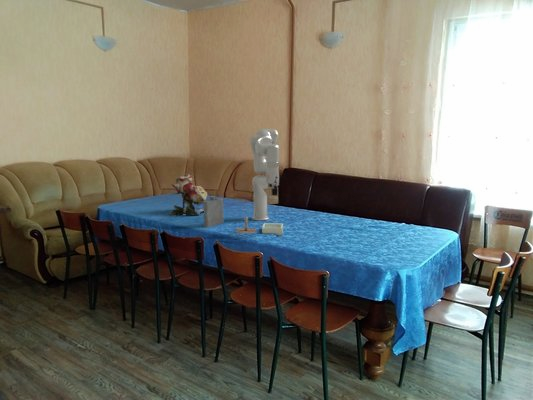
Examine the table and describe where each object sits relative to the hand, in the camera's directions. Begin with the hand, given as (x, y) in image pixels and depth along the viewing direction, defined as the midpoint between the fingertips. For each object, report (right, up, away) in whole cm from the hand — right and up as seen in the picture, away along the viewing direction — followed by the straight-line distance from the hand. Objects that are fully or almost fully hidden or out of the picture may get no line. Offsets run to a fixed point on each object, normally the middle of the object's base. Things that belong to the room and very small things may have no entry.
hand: (272, 194), depth 271 cm
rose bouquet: (-64, -14, +69) cm, 95 cm away
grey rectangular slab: (-40, -21, +27) cm, 53 cm away
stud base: (-17, -24, +6) cm, 30 cm away
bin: (0, -25, +5) cm, 25 cm away
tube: (0, -6, +1) cm, 6 cm away
